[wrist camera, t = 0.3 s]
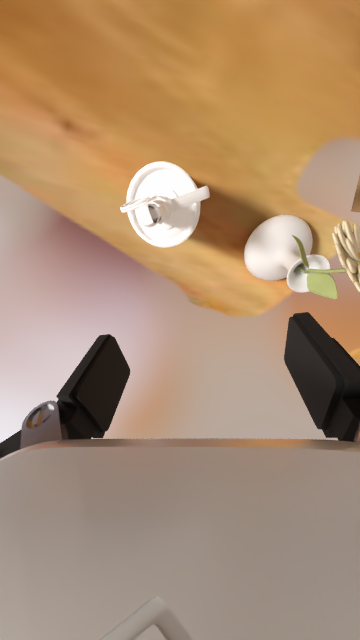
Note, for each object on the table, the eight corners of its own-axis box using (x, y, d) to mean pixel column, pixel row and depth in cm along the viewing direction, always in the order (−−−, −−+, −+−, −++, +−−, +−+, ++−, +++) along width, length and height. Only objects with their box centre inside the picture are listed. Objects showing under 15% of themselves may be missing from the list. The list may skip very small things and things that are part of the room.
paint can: (159, 239, 37) (125, 279, 20) (138, 183, 32) (72, 175, 16) (213, 220, 34) (224, 248, 18) (199, 156, 30) (197, 112, 13)
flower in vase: (313, 260, 36) (460, 351, 16) (253, 286, 40) (308, 386, 20) (298, 188, 31) (500, 181, 10) (230, 226, 35) (273, 278, 14)
